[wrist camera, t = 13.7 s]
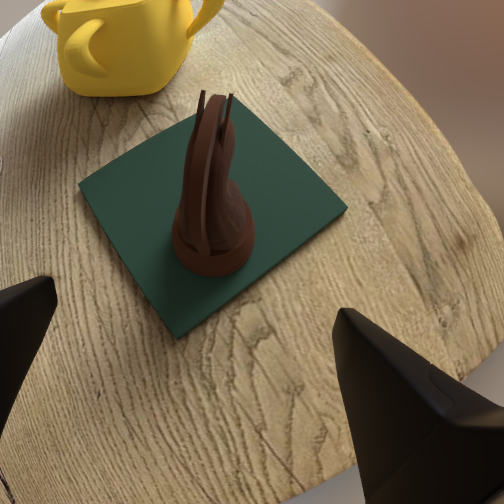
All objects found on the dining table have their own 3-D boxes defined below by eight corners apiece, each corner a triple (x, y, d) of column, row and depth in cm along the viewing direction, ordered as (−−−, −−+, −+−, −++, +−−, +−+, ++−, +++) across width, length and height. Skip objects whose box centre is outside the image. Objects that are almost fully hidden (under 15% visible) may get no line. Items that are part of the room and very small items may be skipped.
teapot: (55, 65, 24) (28, -13, 14) (164, 18, 27) (159, -60, 18) (91, 140, 21) (46, 28, 11) (233, 73, 24) (243, -33, 15)
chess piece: (259, 209, 19) (292, 76, 10) (247, 293, 17) (280, 200, 8) (183, 197, 19) (161, 61, 9) (163, 279, 17) (106, 176, 8)
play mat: (345, 211, 20) (348, 207, 20) (177, 340, 17) (176, 339, 16) (232, 100, 23) (233, 95, 22) (80, 188, 19) (77, 183, 19)
